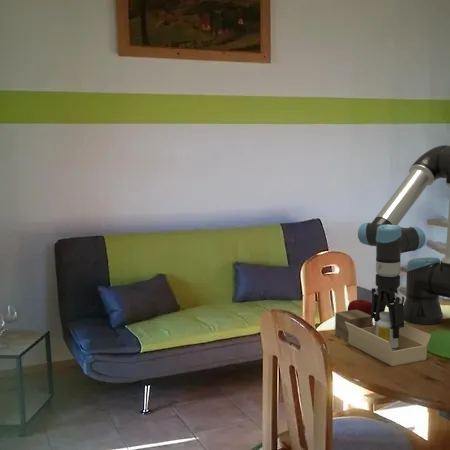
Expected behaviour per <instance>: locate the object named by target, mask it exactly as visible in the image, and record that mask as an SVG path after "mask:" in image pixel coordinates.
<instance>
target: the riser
mask: <svg viewBox="0 0 450 450" xmlns="http://www.w3.org/2000/svg"><path fill="white" fill-rule="evenodd" d="M334 313H335V315H334V317H335V321H334V323H335V324H334V335H335V336H337V337H339V338H340V339H342V340H345V341H346V342H348V335H349V331H348V329H347V327H346V324H345V321H346V322H348V323H350V324H352V325H354V326H356V327H358V328H367V327H373V324H374V323H373V321H374V320H373V319H374V318H372V317H371V315H369V314H367V313H364V312H362V311H359V310H350V311H347V310H344V311H337V312H334Z"/></svg>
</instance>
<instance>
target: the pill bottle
mask: <svg viewBox="0 0 450 450" xmlns="http://www.w3.org/2000/svg"><path fill="white" fill-rule="evenodd" d="M379 317H380V320H379V321H378V322H377V334H376V336H378V337H380V338H382V339H384V340H386V341H388V342H389V343H390V327H392V325H391V320H390V315H389V311H384V312H380V316H379ZM397 349H398V347H396V348H392V350H393V351H396V350H397Z"/></svg>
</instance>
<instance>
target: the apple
mask: <svg viewBox="0 0 450 450" xmlns="http://www.w3.org/2000/svg"><path fill="white" fill-rule="evenodd" d="M371 305H372V302H370V301H369V300H365V299H354V300H352V301H350V302H349V303H348V305H347V310H346V311H350V310H359V311H362V312H364V313H367V314H369V315H371Z"/></svg>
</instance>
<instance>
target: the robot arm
mask: <svg viewBox="0 0 450 450" xmlns="http://www.w3.org/2000/svg"><path fill="white" fill-rule="evenodd" d="M408 171H409V173H408V175H407V176H406V178H405V179H404V180H403V181H402V183H400V186H399V187H397V189H396V190H395V192H394V193H393V194H392V195H391V197H390V198H389V200H387V202H386V203H385V204H384V206H383V208H382V209H381V210H380V211H379V212H378V213H377V215H376V216H375V218H374V219H373V220H372V222H364V223H362V224H361V225H360V226H359V228H358V231H357V238H358V240H359V242H360V243H361V244H363V245H366V246H369V247H375V251H376V252H375V253H376V254H375V255H376V257H375V273H376V274H375V286H376V287H374V288H373V287H372V288H371V303H372V305H371V317H372V318H373V319H374V320H373V321H374V324H375V325H374V326H375V330H376V334H377V322H378V321H379V320H380V317H379V316H380V312H386V307H387V308H388V312H389V315H390V320H391V325H392V327H390V345H391V348H396V347H397V348H399V347H398V338H399V328H402V327H404V324H405V322H407V323H410V324H415V325H438V324H440V323H442V322H443V319H444V314H443V311H442V306H441V303H440V300H439V299H440V298H439V297H443V298H448V299H450V199H449V202H448V214H447V215H448V216H447V228H446V229H447V232H446V245H445V256H444V257H443V258H441V259H440V258H439V257H432V256H431V257H417V258H413V259H409V261H407V263H406V264H407V266H406V270H405V272H406V283H405V284H406V286H405V287H406V288H405V289H406V290H405V291H406V292H405V293H406V294H405V296H400V295H399V291H398V288H399V287H401V275H400V274H401V255H402V254H403V253H408V252H416V251H418V250H419V249H422V248H423V247H424V246H425V244H426V239H427V238H426V234H425V232H424V231H423V230H422V229H421V228H420V227H418V226H410V227H401V226H400V225H399V224H400V222H401V221H402V220H403V218H404V217H405V216H406V214H407V213H408V212H409V210H410V209H411V208H412V207H413V205H414V204H415V203H416V201H417V200H418V199H419V197H420V196H421V195H422V194H423V192H424V191H425V189H426V188H427V187H428V186H431V185H432V184H433V183H434V182H435V181H436V180H438V179H439V180H440V179H445V184H446V185H447V187H448V188H449V189H450V145H439V146H438V145H437V146H434V147H433V148H431V149H429V150H428V151H426V152H425V153H423V154H422V155H420V156H419V157H418V158H417V159H416V160H415V161H414V162H413V163H412V165H411V166H410V168H409V169H408ZM397 348H396V349H397Z"/></svg>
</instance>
